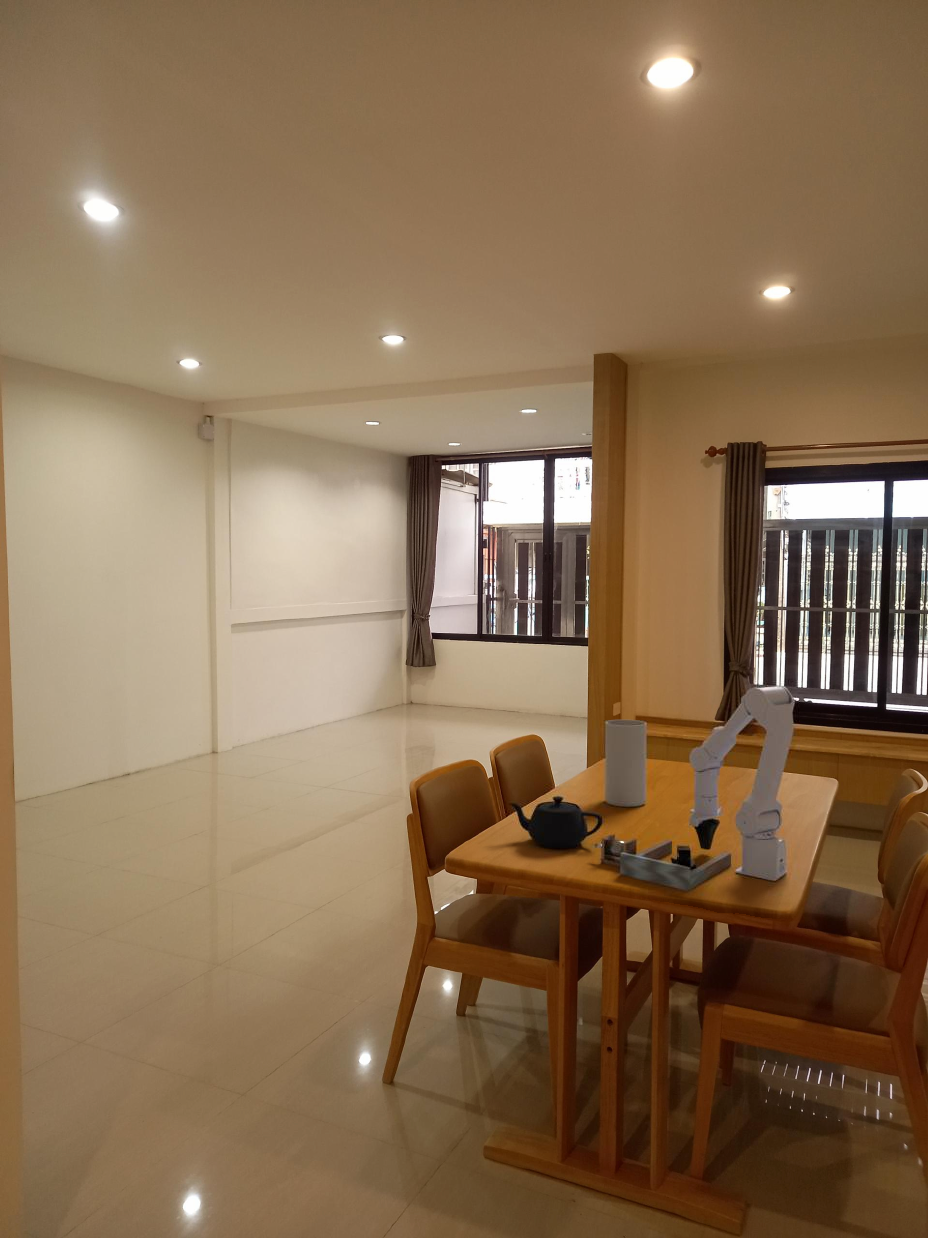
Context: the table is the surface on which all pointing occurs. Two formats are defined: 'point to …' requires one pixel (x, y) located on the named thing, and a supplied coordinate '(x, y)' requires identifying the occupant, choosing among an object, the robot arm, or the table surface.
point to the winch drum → (615, 849)
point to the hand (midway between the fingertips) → (705, 848)
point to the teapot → (557, 823)
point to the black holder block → (684, 857)
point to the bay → (669, 867)
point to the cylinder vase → (625, 763)
